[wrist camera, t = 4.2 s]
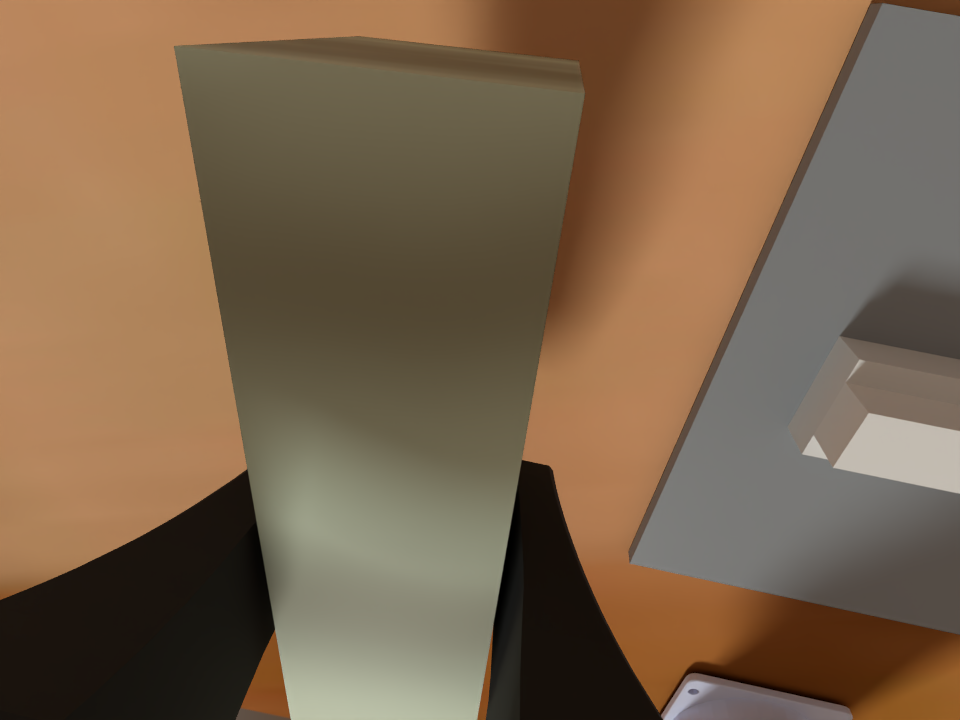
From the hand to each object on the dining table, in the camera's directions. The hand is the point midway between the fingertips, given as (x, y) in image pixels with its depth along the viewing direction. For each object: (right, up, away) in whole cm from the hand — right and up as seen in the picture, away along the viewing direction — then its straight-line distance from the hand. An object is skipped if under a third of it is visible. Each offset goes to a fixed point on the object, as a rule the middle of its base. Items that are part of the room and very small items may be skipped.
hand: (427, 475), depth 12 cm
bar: (0, +1, +1) cm, 2 cm away
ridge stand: (+17, +1, +6) cm, 18 cm away
